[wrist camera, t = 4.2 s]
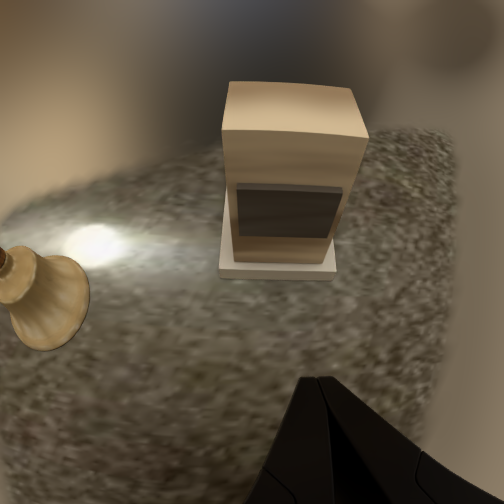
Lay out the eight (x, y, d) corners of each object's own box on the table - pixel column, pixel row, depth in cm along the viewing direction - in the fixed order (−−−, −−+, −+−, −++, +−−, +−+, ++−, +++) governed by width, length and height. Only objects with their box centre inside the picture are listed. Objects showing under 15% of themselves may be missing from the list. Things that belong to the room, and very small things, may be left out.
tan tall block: (322, 268, 21) (371, 144, 12) (233, 266, 21) (220, 136, 12) (317, 215, 23) (350, 88, 14) (237, 213, 23) (229, 81, 14)
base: (331, 280, 23) (356, 231, 17) (220, 278, 23) (210, 227, 17) (319, 177, 28) (332, 120, 22) (230, 174, 28) (225, 116, 22)
